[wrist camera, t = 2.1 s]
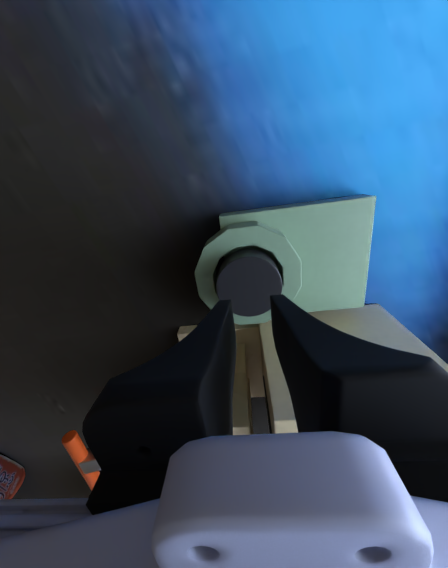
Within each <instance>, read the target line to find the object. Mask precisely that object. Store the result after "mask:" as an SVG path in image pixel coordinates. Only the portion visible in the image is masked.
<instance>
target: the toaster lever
mask: <svg viewBox="0 0 448 568" xmlns="http://www.w3.org/2000/svg"><path fill="white" fill-rule="evenodd" d="M62 444H63V445H64V447H65V448H66V450H67V452H68V453H69V455H70V457H71V458H72V460H73V461H74V463H75V465H76V466H77V468H78V470H79V471H80V473H81V474H82V476H83V478H84V479H85V481H86V483H87V484H88V486H89V487H90V489H91V490H93V487H94V485H95V483H96V481H97V479H98V477H99V475H100V472H99V471H100V470H101V468H100V466H99V465H98V463H97V461H96V459H95V457H94V456H93V454H92V452H91V450H90V448H86V447H85V445H84V444H83V442H82V440H81V438H80V437H79V435H78V433H77V431H75V430H72V431H69V432H68V433H66V434H65V435H64V436H63V438H62Z"/></svg>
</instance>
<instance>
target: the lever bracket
mask: <svg viewBox="0 0 448 568" xmlns="http://www.w3.org/2000/svg"><path fill="white" fill-rule="evenodd" d="M234 324H235V331H236V351H237V352H236V364H235V375H234V386H233V402H232V405H233V435H253V421H252V406H251V397H265V392H264V384H263V368H262V357H261V346H260V335H259V325H258V323H257V324H245V325H239V324H236V323H234ZM196 327H197V325H191V326H180V328H179V331H178V333H177V335H178V339H179V342H180V341H181V340H182V339H183V338H185V337H186V336H187V335H188V334H189V333H190V332H191V331H193V330H194V329H195V328H196Z"/></svg>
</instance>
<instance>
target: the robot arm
mask: <svg viewBox="0 0 448 568" xmlns="http://www.w3.org/2000/svg"><path fill="white" fill-rule="evenodd" d="M270 305H271V320H272V333H273V338H274V344H275V349H276V352H277V355H278V358H279V362H280V365H281V368H282V371H283V374H284V377H285V380H286V383H287V386H288V389H289V393H290V397H291V401H292V405H293V410H294V415H295V419H296V424H297V429H298V433H278V434H254V435H233V405H232V402H233V386H234V375H235V364H236V352H237V351H236V331H235V324H234V317H233V310H232V302H231V299H229V300H219V301H218V302H217V303H216V304H215V306H214V307H213V308H212V309H211V311H210V312H209V313H208V314H207V316H206V317H205V318H204V319H203V320H202V321H201V322H200V323H199V324H198V325H197V327H196V328H195V329H194V330H193V331H191V332H190V333H189V334H188V335H187V336H186V337H185V338H183V339H182V340H181V341H180V342H178V343H177V344H176V345H174V346H173V347H171V348H170V349H168V350H167V351H165V352H164V353H162V354H161V355H159V356H157V357H155V358H154V359H152V360H150V361H148V362H146V363H144V364H142V365H141V366H138V367H136V368H134V369H132V370H130V371H127V372H125V373H123V374H121V375H118V376H116V377H114V378H111V379H110V380H109V381H108V382H107V384H106V385H105V387H104V388H103V390H102V392H101V393H100V395H99V396H98V398H97V399H96V401H95V403H94V404H93V406H92V407H91V409H90V410H89V412H88V414H87V415H86V417H85V419H84V421H83V431H82V432H83V435H84V437H85V440H86V443H87V445H88V447H89V448H90V450H91V452H92V454H93V456H94V457H95V459H96V461H97V463H98V465H99V466H100V468H101V472H100V475H99V477H98V479H97V481H96V483H95V485H94V487H93V490H92V492H91V494H90V496H89V498H54V499H0V568H448V372H447V371H446V370H444V369H443V368H442V367H441V366H440V365H439V364H438V363H437V362H436V361H434V360H433V359H432V358H431V357H429V356H424V355H420V354H415V353H411V352H406V351H401V350H397V349H393V348H389V347H386V346H382V345H379V344H375V343H372V342H369V341H366V340H363V339H360V338H357V337H355V336H352V335H350V334H347V333H345V332H342V331H340V330H338V329H336V328H334V327H332V326H330V325H327V324H326V323H324V322H322V321H320V320H318V319H317V318H315V317H313V316H312V315H310V314H309V313H307V312H306V311H304V310H303V309H301V308H300V307H299V306H297V305H296V304H295V303H293V302H292V301H291V300H290V299H288V298H287V297H286V296H285V295H283V294H280V295H270Z"/></svg>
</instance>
